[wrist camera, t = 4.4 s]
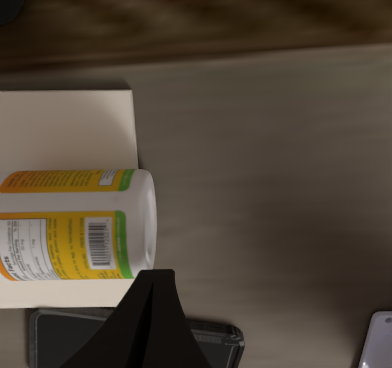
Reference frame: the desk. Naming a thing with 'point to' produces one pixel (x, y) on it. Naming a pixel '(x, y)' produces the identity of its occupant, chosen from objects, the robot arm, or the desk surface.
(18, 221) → the supplement bottle
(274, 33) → the desk surface
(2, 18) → the gaming mouse
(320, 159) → the desk surface
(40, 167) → the sticky note pad
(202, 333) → the phone
